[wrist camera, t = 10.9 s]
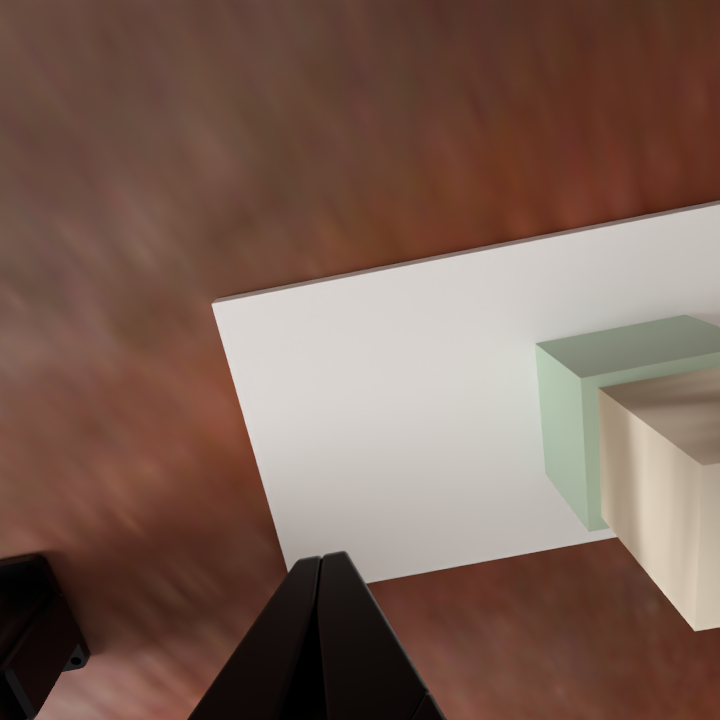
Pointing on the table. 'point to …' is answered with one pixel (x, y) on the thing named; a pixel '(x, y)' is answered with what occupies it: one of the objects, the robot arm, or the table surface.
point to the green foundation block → (599, 369)
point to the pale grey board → (443, 387)
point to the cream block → (666, 483)
